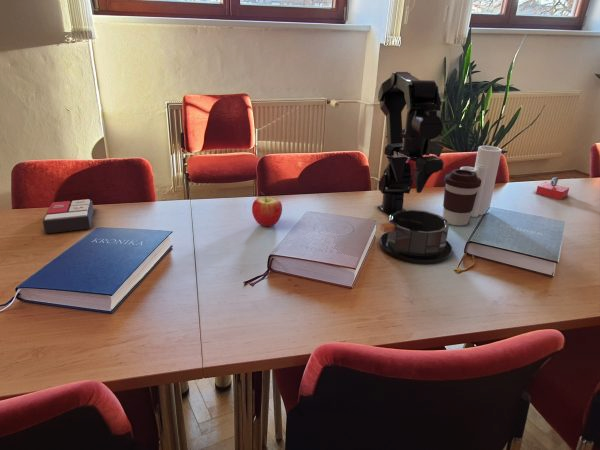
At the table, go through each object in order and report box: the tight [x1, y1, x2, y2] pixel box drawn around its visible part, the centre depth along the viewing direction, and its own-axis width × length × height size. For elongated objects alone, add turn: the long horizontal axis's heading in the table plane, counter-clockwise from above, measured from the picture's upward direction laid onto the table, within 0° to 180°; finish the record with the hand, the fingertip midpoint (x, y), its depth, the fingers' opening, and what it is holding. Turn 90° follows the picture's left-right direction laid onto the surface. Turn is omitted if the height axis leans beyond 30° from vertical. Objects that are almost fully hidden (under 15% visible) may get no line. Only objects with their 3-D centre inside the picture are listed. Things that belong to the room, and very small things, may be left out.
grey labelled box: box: [42, 198, 94, 234], centre depth 124 cm, size 11×4×15 cm
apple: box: [251, 191, 283, 227], centre depth 124 cm, size 8×8×10 cm
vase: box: [459, 145, 503, 218], centre depth 134 cm, size 11×7×20 cm, turn 111°
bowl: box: [379, 209, 450, 256], centre depth 112 cm, size 17×14×6 cm
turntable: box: [379, 232, 453, 265], centre depth 114 cm, size 18×18×1 cm
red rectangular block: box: [535, 176, 570, 201], centre depth 154 cm, size 8×7×6 cm
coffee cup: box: [442, 168, 481, 226], centre depth 128 cm, size 10×10×15 cm
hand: (408, 187), depth 122 cm, fingers open, 9 cm apart
